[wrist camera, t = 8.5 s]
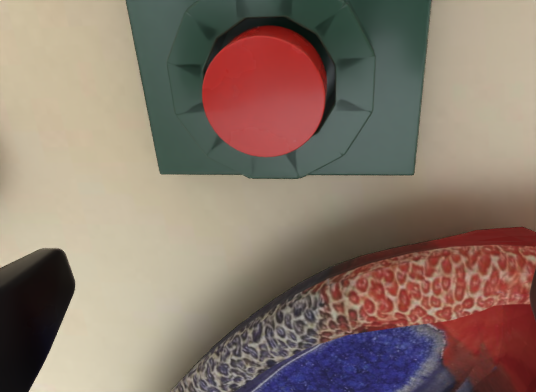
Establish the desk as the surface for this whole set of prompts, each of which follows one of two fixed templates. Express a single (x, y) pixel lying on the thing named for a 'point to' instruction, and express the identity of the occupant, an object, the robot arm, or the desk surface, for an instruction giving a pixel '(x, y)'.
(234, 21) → the button block
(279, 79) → the button
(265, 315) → the dish
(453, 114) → the desk surface
